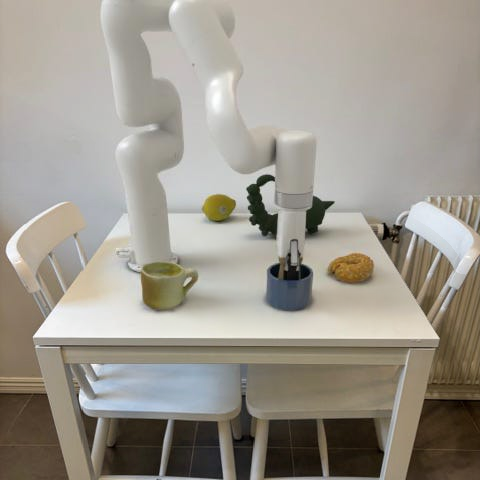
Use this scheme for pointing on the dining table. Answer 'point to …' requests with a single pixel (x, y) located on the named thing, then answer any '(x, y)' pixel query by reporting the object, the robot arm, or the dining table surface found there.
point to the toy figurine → (271, 221)
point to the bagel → (352, 267)
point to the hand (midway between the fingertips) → (289, 280)
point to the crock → (289, 289)
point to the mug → (165, 284)
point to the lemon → (218, 207)
